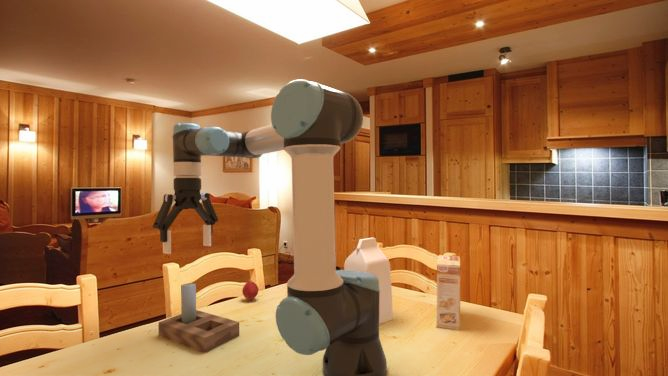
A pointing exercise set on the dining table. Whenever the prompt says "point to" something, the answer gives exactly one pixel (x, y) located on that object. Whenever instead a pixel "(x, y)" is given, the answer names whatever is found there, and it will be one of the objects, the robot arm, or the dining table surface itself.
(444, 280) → the coffeecake box
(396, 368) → the dining table surface
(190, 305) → the peg
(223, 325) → the socket board
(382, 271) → the milk
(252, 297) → the onion
